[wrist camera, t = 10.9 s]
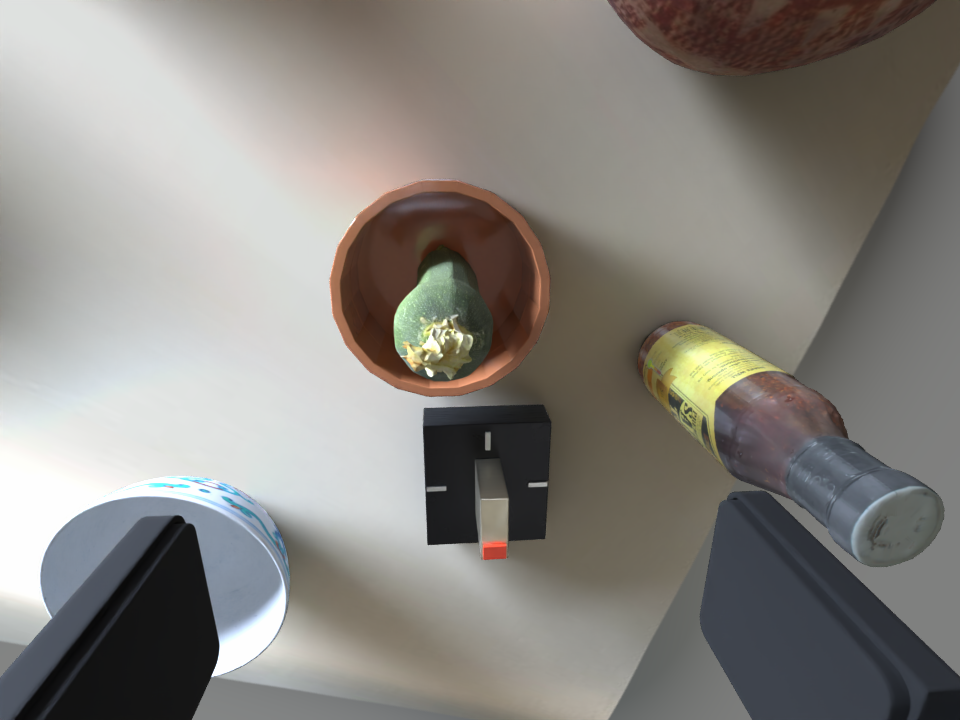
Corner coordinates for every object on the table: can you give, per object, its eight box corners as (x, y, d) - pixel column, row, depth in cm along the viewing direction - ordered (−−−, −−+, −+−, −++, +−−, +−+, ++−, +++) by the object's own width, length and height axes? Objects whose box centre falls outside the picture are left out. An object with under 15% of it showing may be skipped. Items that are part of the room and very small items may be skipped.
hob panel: (423, 407, 39) (422, 427, 36) (543, 403, 40) (552, 422, 37) (428, 520, 43) (427, 547, 40) (538, 515, 43) (545, 540, 40)
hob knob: (474, 458, 38) (480, 502, 33) (500, 457, 38) (509, 500, 33) (475, 513, 39) (481, 562, 34) (499, 512, 39) (508, 560, 34)
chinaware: (70, 526, 40) (-11, 604, 33) (190, 394, 37) (131, 448, 30) (234, 625, 45) (195, 714, 37) (353, 514, 42) (335, 586, 35)
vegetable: (485, 281, 36) (540, 402, 17) (434, 318, 37) (433, 472, 18) (447, 227, 35) (461, 295, 16) (395, 266, 35) (348, 375, 16)
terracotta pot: (342, 178, 33) (319, 180, 27) (532, 178, 34) (555, 180, 28) (356, 360, 38) (340, 399, 31) (526, 355, 38) (545, 393, 32)
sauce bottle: (616, 365, 39) (780, 540, 21) (675, 299, 38) (908, 424, 19) (675, 412, 41) (877, 613, 22) (734, 352, 40) (1000, 512, 21)
